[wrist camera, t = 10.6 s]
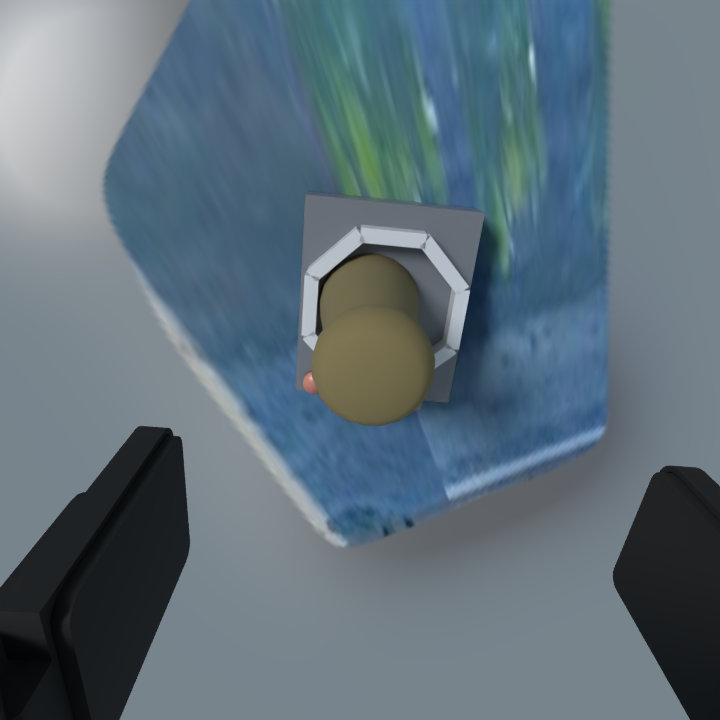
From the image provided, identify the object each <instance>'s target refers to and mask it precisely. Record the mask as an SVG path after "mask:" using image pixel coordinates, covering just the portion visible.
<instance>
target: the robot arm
mask: <svg viewBox="0 0 720 720" xmlns="http://www.w3.org/2000/svg"><path fill="white" fill-rule="evenodd" d="M189 547H190V536H189V523H188V512H187V498H186V485H185V473H184V460H183V447H182V440H181V438H180V437H179V436H173V432H172V430H171V429H170V428H160V427H147V426H139V427H137V428H136V429H135V430H134V432H133V433H132V434H131V436H130V437H129V438H128V439H127V441H126V442H125V443H124V444H123V446H122V447H121V448H120V449H119V451H118V452H117V453H116V454H115V456H114V457H113V458H112V460H111V461H110V462H109V464H108V465H107V466H106V467H105V468H104V470H103V471H102V472H101V473H100V475H99V476H98V477H97V478H96V480H95V481H94V482H93V483H92V485H91V486H90V487H89V488H88V490H87V491H86V492H83V493H81V494H78V495H77V496H76V497H75V498H74V499H72V500H71V501H70V503H69V504H68V505H67V506H66V508H65V509H64V510H63V511H62V512H61V514H60V515H59V516H58V517H57V519H56V520H55V521H54V523H52V525H51V526H50V527H49V528H48V530H47V531H46V532H45V533H44V535H43V536H42V537H41V538H40V539H39V541H38V542H37V543H36V544H35V546H34V547H33V548H32V549H31V551H30V552H29V553H28V554H27V555H26V557H25V558H24V559H23V561H22V562H21V563H20V564H19V565H18V567H17V568H16V569H15V570H14V571H13V573H12V574H11V575H10V576H9V578H8V579H7V580H6V581H5V582H4V584H3V585H2V586H1V587H0V720H119V719H120V717H121V715H122V712H123V710H124V707H125V705H126V703H127V700H128V698H129V695H130V693H131V691H132V688H133V686H134V683H135V681H136V679H137V676H138V674H139V672H140V669H141V667H142V664H143V662H144V660H145V657H146V655H147V652H148V650H149V648H150V645H151V643H152V641H153V639H154V636H155V634H156V631H157V629H158V627H159V624H160V622H161V620H162V617H163V615H164V612H165V610H166V608H167V605H168V603H169V601H170V598H171V596H172V593H173V591H174V589H175V586H176V584H177V582H178V579H179V577H180V574H181V572H182V569H183V567H184V565H185V563H186V560H187V557H188V553H189ZM613 581H614V585H615V588H616V590H617V592H618V594H619V595H620V597H621V599H622V601H623V602H624V604H625V606H626V608H627V609H628V611H629V613H630V615H631V616H632V618H633V620H634V622H635V623H636V625H637V627H638V629H639V631H640V632H641V634H642V636H643V638H644V639H645V641H646V643H647V645H648V646H649V648H650V650H651V652H652V653H653V655H654V657H655V659H656V660H657V662H658V664H659V666H660V667H661V669H662V671H663V673H664V674H665V676H666V678H667V680H668V682H669V683H670V685H671V687H672V688H673V690H674V692H675V694H676V695H677V697H678V699H679V700H680V702H681V704H682V706H683V708H684V709H685V711H686V713H687V715H688V717H689V718H690V720H720V486H719V485H718V484H717V483H716V482H715V481H714V480H712V478H710V477H709V476H708V475H707V474H706V473H705V472H704V471H703V470H701V469H699V468H694V467H682V466H665V467H664V468H662V469H661V470H660V472H658V473H655V474H654V475H653V477H652V478H651V481H650V483H649V485H648V488H647V490H646V493H645V495H644V498H643V500H642V502H641V505H640V507H639V510H638V512H637V514H636V517H635V519H634V522H633V524H632V526H631V529H630V531H629V534H628V536H627V539H626V541H625V544H624V546H623V548H622V551H621V553H620V556H619V558H618V560H617V563H616V565H615V568H614V571H613Z"/></svg>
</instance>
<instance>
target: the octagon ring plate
mask: <svg viewBox="0 0 720 720" xmlns="http://www.w3.org/2000/svg"><path fill="white" fill-rule="evenodd" d="M484 215H485V213H484V212H482V211H480V210H477V209H475V208H467V207H457V206H447V205H437V204H428V203H418V202H408V201H399V200H389V199H379V198H369V197H360V196H350V195H340V194H330V193H321V192H311V191H310V192H308V193H307V194H305V213H304V233H303V252H302V272H301V292H300V312H299V332H298V351H297V371H296V390H306V391H307V392H309V393H311V394H318V391H317V388H316V386H315V383H314V381H313V378H312V363H311V358H312V354H313V351H314V348H315V345H316V342H317V339H318V336H319V335H320V333H321V332H322V331H323V327H322V322H321V316H320V311H319V294H320V291H321V288H322V285H323V281H324V280H325V278H326V277H327V275H328V274H329V273H330V271H331V270H332V268H334V267H335V266H336V265H338V264H339V263H340V262H342V261H343V260H344V259H346V258H349V257H352V256H355V255H358V254H361V253H378V254H381V255H384V256H387V257H390V258H393V259H395V260H396V261H397V262H399V263H400V264H401V265H403V266H404V267H405V268H406V269H407V270H408V271H409V273H410V274H411V276H412V277H413V279H414V280H415V282H416V286H417V290H418V293H419V313H418V323H419V324H420V326H421V327H422V328H423V330H424V331H425V333H426V334H427V336H428V337H429V339H430V342H431V345H432V349H433V352H434V356H435V372H434V380H433V383H432V386H431V388H430V390H429V392H428V395H427V397H426V399H425V400H424V401H434V402H445V403H449V398H450V393H451V387H452V382H453V377H454V372H455V366H456V361H457V356H458V351H459V346H460V341H461V336H462V331H463V326H464V320H465V315H466V310H467V305H468V299H469V294H470V288H471V283H472V278H473V272H474V267H475V262H476V257H477V251H478V246H479V241H480V236H481V230H482V225H483V220H484ZM421 408H422V403H421V404H420V406H419V407H418V408H417V409H416V410H415V411H421Z"/></svg>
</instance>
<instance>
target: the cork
mask: <svg viewBox="0 0 720 720" xmlns="http://www.w3.org/2000/svg"><path fill="white" fill-rule="evenodd" d="M319 311H320V316H321V322H322V327H323V331H322V332H321V333H320V335H319V336H318V339H317V342H316V345H315V348H314V351H313V354H312V358H311V363H312V378H313V381H314V383H315V386H316V388H317V391H318V393H319V396H320V398H321V399H322V400H323V402H324V403H325V404H326V405H327V406H328V408H329V409H330V410H331V411H332V412H334V413H335V414H337V415H339V416H340V417H342V418H343V419H345V420H347V421H350V422H354V423H357V424H360V425H371V426H381V425H385V424H389V423H392V422H396V421H399V420H401V419H403V418H404V417H406V416H408V415H409V414H411V413H412V412H414V411H415V410H416V409H417V408H418V407H419V406H420V404H421V403H422V402H423V401H424V400H425V399H426V397H427V395H428V392H429V390H430V388H431V386H432V383H433V380H434V372H435V356H434V352H433V349H432V345H431V342H430V339H429V337H428V336H427V334H426V333H425V331H424V330H423V328H422V327H421V326H420V324H419V323H418V313H419V293H418V290H417V286H416V282H415V280H414V279H413V277H412V276H411V274H410V273H409V271H408V270H407V269H406V268H405V267H404V266H403V265H401V264H400V263H399V262H397V261H396V260H395V259H393V258H390V257H387V256H384V255H381V254H378V253H361V254H358V255H355V256H352V257H349V258H346V259H344V260H343V261H342V262H340V263H339V264H338V265H336V266H335V267H334V268H332V270H331V271H330V273H329V274H328V275H327V277H326V278H325V280H324V281H323V285H322V288H321V291H320V294H319Z"/></svg>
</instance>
